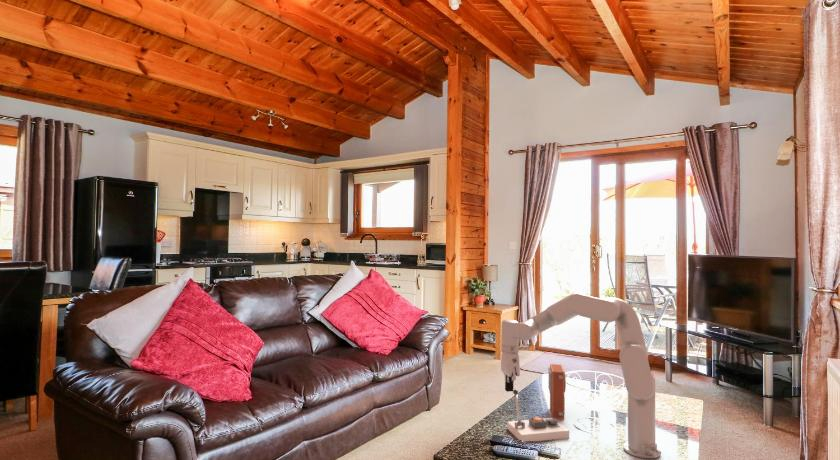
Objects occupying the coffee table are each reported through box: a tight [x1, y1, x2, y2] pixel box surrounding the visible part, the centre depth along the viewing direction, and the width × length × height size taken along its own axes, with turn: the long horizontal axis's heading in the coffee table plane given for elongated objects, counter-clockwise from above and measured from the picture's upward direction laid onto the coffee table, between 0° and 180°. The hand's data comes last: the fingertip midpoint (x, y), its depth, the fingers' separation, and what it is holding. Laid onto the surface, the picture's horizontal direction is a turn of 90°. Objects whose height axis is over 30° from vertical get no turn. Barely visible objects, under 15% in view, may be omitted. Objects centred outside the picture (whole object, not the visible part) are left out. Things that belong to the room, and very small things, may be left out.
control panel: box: [547, 363, 567, 420], centre depth 216 cm, size 21×7×15 cm
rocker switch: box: [547, 419, 559, 424], centre depth 195 cm, size 4×3×1 cm
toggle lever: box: [512, 389, 523, 426], centre depth 194 cm, size 2×2×14 cm
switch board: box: [506, 416, 570, 443], centre depth 194 cm, size 14×21×6 cm, turn 103°
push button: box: [532, 416, 543, 422], centre depth 194 cm, size 4×4×2 cm
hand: (509, 390), depth 202 cm, fingers closed
